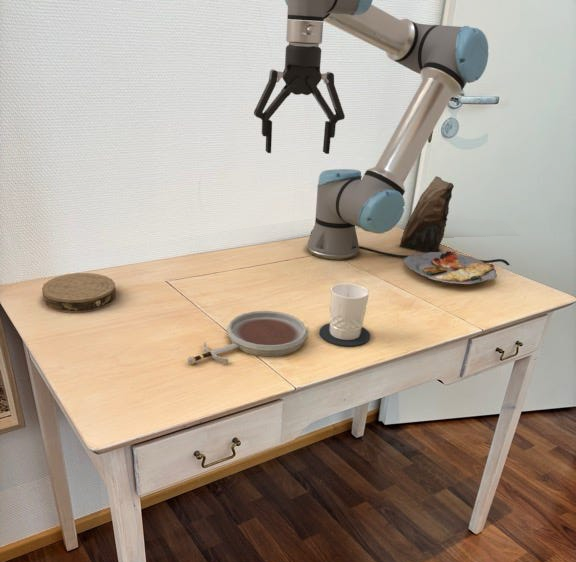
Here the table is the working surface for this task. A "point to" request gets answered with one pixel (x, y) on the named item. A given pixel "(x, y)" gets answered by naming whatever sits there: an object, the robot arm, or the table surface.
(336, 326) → the white cup
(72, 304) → the tin can
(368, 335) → the coaster
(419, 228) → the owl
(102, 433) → the table surface
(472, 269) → the food plate
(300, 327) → the frying pan
